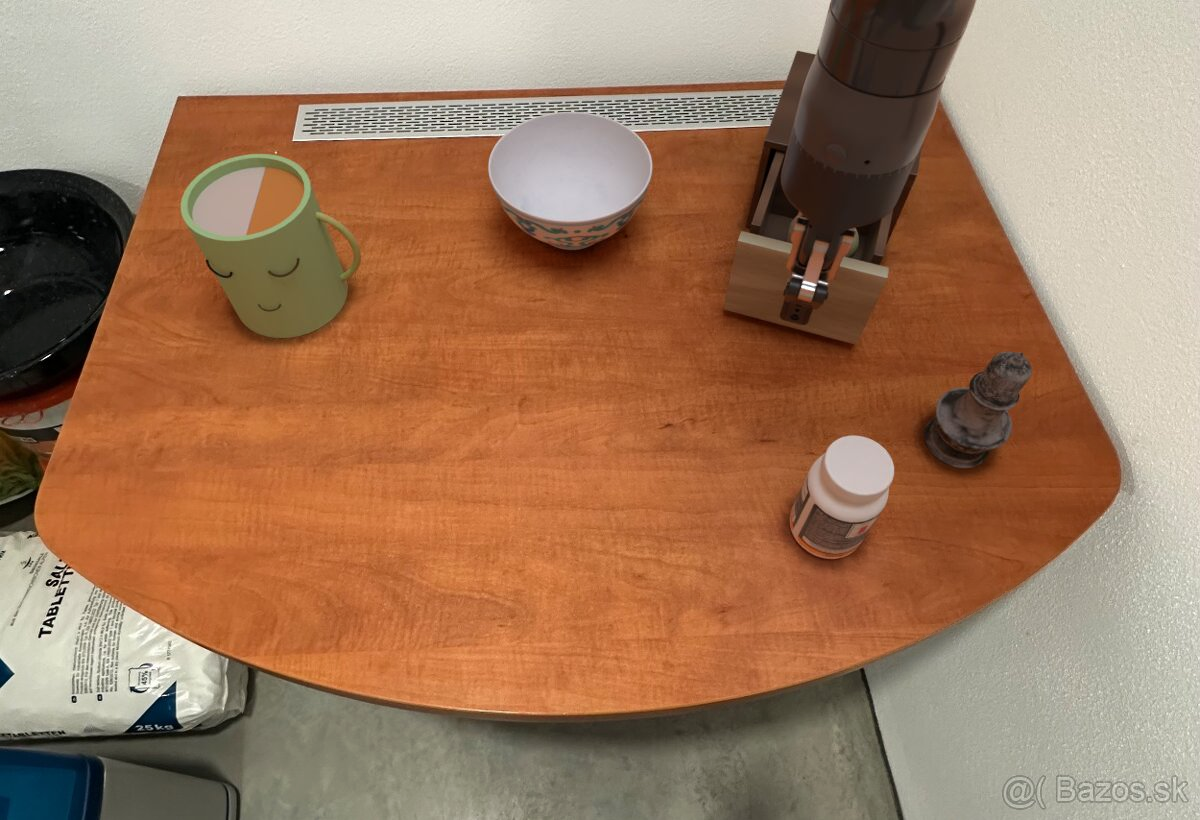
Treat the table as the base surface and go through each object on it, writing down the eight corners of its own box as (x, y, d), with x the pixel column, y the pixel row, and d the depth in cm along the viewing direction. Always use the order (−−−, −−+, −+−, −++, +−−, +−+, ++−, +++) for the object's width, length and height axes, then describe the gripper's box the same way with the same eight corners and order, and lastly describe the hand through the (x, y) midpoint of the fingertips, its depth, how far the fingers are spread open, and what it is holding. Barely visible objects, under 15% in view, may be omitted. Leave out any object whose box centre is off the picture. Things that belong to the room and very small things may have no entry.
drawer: (854, 355, 70) (885, 288, 63) (719, 319, 72) (734, 250, 65) (878, 242, 78) (908, 170, 70) (756, 212, 80) (772, 139, 72)
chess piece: (990, 480, 64) (1064, 397, 54) (916, 459, 65) (976, 373, 55) (995, 422, 67) (1066, 333, 57) (924, 402, 68) (982, 312, 58)
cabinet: (880, 259, 77) (917, 175, 69) (745, 226, 80) (764, 140, 71) (899, 166, 85) (935, 78, 76) (776, 138, 87) (797, 50, 79)
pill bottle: (876, 539, 61) (922, 478, 53) (817, 574, 60) (854, 517, 52) (830, 482, 64) (866, 415, 56) (772, 514, 62) (800, 450, 54)
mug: (224, 342, 71) (164, 245, 61) (248, 256, 77) (197, 154, 67) (367, 340, 71) (331, 243, 61) (380, 254, 77) (349, 152, 67)
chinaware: (524, 163, 84) (519, 99, 78) (662, 190, 82) (668, 127, 76) (474, 263, 77) (463, 202, 70) (625, 296, 74) (629, 236, 68)
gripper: (908, 217, 43) (827, 395, 58) (934, 77, 50) (856, 268, 65) (772, 184, 45) (726, 367, 59) (816, 52, 52) (765, 245, 66)
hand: (794, 315), depth 62 cm, fingers closed
